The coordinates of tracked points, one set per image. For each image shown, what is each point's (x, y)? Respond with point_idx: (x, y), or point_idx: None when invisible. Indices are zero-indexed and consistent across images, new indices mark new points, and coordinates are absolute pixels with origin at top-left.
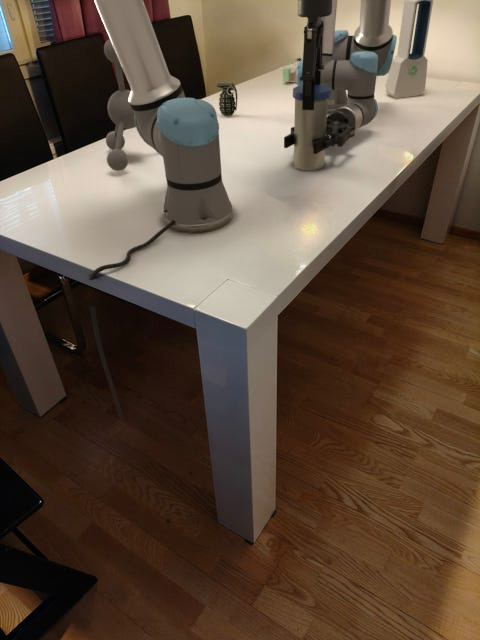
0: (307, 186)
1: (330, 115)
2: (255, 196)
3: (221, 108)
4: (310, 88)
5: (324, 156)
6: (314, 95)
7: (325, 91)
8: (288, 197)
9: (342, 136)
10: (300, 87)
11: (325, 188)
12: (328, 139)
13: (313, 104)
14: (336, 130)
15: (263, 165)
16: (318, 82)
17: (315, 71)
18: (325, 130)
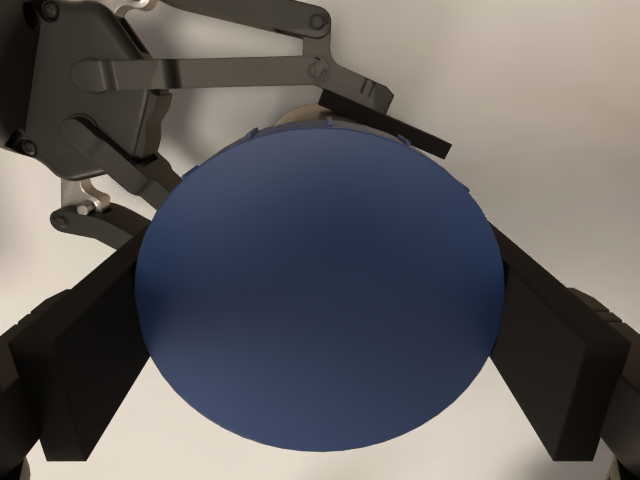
0: (534, 137)
1: (6, 127)
2: (607, 288)
3: None
4: (627, 331)
5: (318, 105)
6: (510, 260)
7: (432, 171)
8: (627, 187)
9: (317, 9)
10: (275, 409)
11: (556, 64)
12: (343, 92)
13: (502, 235)
14: (214, 60)
15: None
16: (121, 290)
17: (72, 398)
18: (334, 117)
